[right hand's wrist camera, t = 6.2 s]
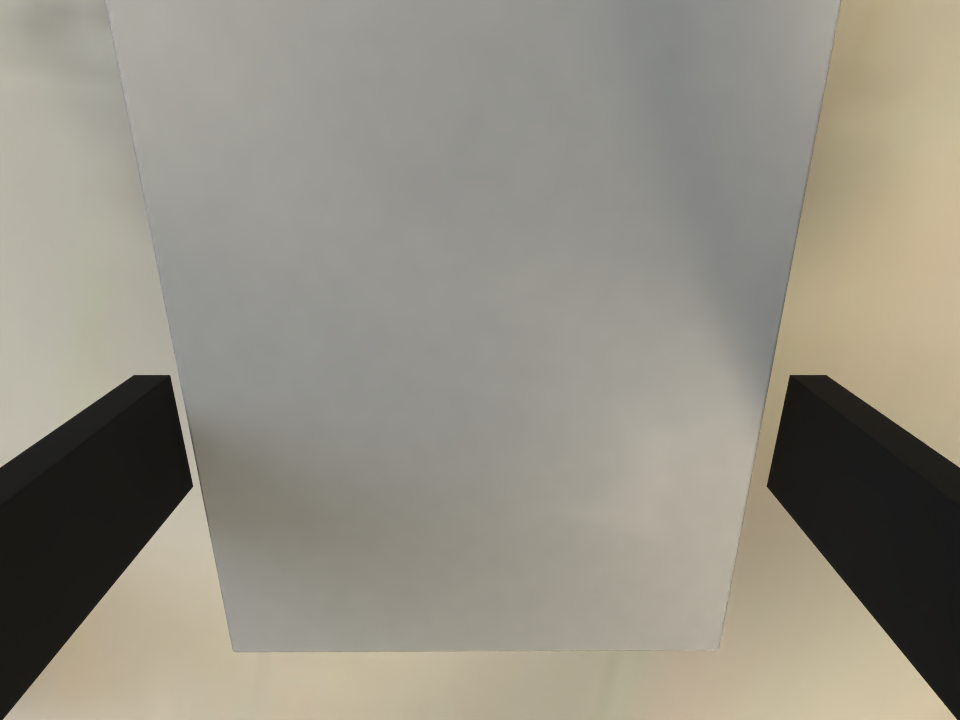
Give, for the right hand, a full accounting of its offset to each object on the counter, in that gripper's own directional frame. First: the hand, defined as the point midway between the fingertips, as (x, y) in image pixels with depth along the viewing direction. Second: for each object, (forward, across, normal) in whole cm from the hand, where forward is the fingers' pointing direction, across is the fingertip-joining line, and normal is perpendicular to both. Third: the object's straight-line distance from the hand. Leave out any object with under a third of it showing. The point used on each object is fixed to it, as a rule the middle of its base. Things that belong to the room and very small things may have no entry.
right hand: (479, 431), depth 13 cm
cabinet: (+8, 0, -3) cm, 9 cm away
